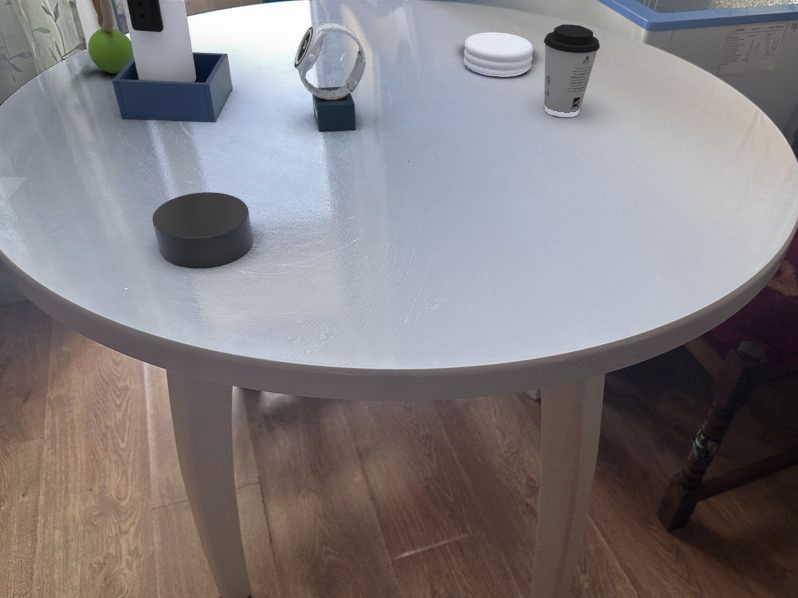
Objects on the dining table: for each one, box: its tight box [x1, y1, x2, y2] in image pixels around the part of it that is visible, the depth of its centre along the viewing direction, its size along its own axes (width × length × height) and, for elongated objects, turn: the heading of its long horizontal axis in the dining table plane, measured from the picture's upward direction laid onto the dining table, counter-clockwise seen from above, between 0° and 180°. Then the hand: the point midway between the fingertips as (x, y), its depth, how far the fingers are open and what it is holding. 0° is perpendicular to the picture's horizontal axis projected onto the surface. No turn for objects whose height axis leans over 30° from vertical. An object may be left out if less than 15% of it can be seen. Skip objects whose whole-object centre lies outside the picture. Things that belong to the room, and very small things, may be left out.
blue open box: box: [111, 51, 233, 123], centre depth 86 cm, size 11×11×4 cm
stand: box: [151, 191, 254, 269], centre depth 63 cm, size 8×8×3 cm
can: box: [122, 0, 196, 82], centre depth 82 cm, size 6×6×12 cm
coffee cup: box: [543, 23, 601, 113], centre depth 90 cm, size 7×7×10 cm
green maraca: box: [87, 0, 134, 75], centre depth 90 cm, size 5×6×12 cm
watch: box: [293, 21, 367, 133], centre depth 83 cm, size 6×8×11 cm
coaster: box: [463, 31, 534, 75], centre depth 104 cm, size 10×10×4 cm
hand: (157, 19), depth 81 cm, fingers closed on can, 6 cm apart
